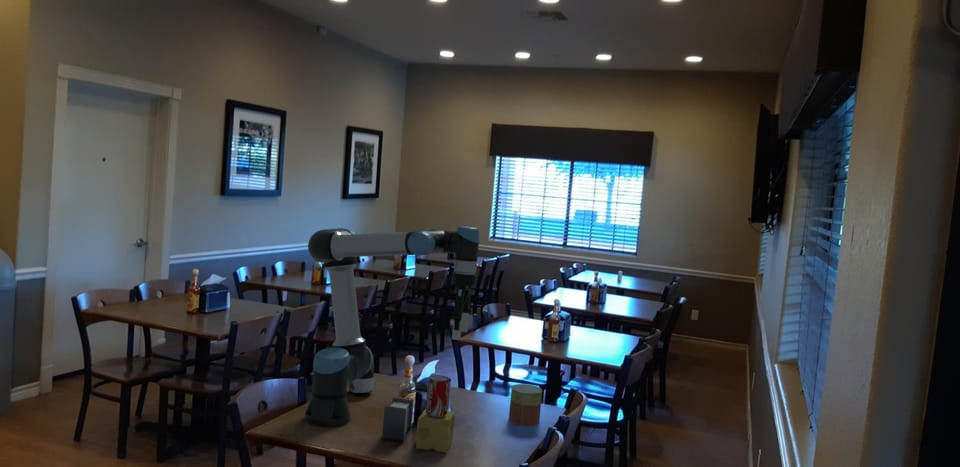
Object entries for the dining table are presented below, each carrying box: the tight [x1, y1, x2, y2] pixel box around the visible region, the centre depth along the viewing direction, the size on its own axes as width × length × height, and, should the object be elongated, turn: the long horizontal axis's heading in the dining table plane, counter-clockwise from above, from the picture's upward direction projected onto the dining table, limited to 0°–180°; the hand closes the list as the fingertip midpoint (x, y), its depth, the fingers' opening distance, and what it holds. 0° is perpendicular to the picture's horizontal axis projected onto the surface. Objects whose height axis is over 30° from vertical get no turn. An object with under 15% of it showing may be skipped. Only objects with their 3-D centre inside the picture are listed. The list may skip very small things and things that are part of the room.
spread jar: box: [347, 367, 375, 397], centre depth 264 cm, size 12×11×12 cm
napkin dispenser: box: [381, 396, 414, 444], centre depth 224 cm, size 10×7×11 cm
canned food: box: [508, 383, 544, 428], centre depth 249 cm, size 11×11×12 cm
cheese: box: [415, 408, 456, 454], centre depth 219 cm, size 10×11×10 cm
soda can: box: [425, 374, 451, 417], centre depth 218 cm, size 7×7×12 cm
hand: (459, 335), depth 232 cm, fingers open, 13 cm apart
